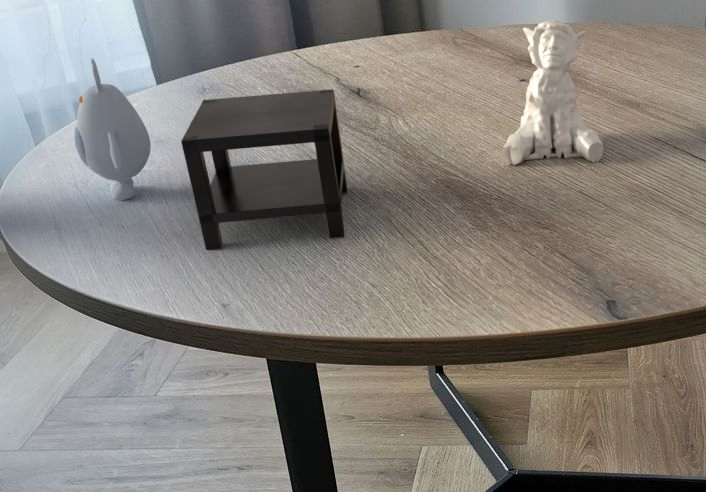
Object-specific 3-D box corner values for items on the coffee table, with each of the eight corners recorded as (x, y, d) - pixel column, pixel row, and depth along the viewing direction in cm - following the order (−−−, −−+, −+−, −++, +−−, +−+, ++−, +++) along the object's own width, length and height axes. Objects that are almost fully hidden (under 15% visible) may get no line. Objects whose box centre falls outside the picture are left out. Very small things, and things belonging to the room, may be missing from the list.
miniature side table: (205, 250, 76) (180, 140, 72) (224, 199, 86) (203, 99, 81) (344, 237, 77) (328, 128, 72) (347, 188, 87) (333, 89, 82)
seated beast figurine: (502, 167, 89) (495, 35, 83) (502, 137, 96) (496, 14, 90) (604, 162, 89) (604, 29, 83) (596, 133, 96) (596, 9, 90)
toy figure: (89, 181, 92) (52, 53, 85) (156, 169, 94) (125, 44, 87) (93, 219, 83) (53, 81, 77) (167, 206, 85) (134, 70, 79)
